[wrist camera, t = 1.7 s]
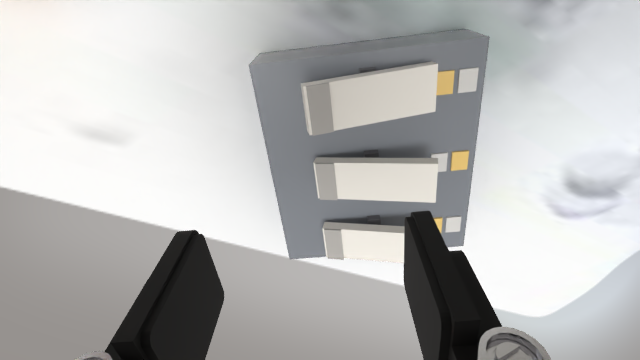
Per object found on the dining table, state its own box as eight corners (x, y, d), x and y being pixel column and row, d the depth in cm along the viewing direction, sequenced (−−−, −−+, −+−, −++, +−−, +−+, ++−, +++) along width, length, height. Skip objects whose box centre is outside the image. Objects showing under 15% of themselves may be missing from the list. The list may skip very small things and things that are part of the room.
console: (465, 29, 29) (493, 38, 24) (447, 216, 39) (465, 250, 34) (259, 53, 30) (246, 66, 25) (293, 229, 40) (289, 263, 35)
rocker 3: (433, 227, 30) (433, 236, 29) (430, 258, 32) (431, 267, 31) (324, 221, 33) (321, 229, 32) (328, 250, 35) (325, 258, 34)
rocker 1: (431, 61, 25) (439, 64, 24) (429, 107, 27) (436, 112, 26) (300, 83, 24) (303, 87, 23) (307, 130, 26) (310, 136, 25)
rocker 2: (437, 158, 27) (438, 165, 26) (435, 196, 29) (435, 204, 28) (316, 157, 29) (312, 163, 28) (320, 192, 31) (317, 199, 30)
